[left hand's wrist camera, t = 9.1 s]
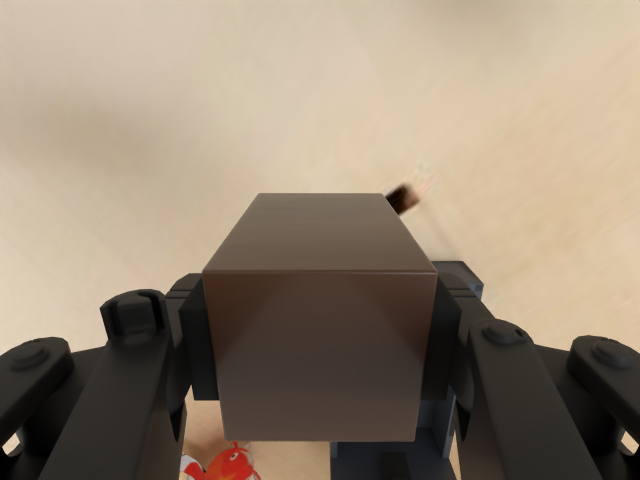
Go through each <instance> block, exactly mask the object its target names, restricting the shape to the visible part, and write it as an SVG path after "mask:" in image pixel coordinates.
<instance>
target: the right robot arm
mask: <svg viewBox="0 0 640 480" xmlns="http://www.w3.org/2000/svg"><path fill="white" fill-rule="evenodd" d="M380 457H381V463H382V469H383V476H384V480H411V476H410V472H409V468H408V463H407V459H406V455H405V452H381V456H380Z"/></svg>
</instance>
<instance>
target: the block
mask: <svg viewBox="0 0 640 480" xmlns="http://www.w3.org/2000/svg"><path fill="white" fill-rule="evenodd" d="M437 277H438V272H437V270H436V268H435V267H434V266H433V264H432V263H431V261H430V260H429V259H428V257H427V256H426V254H425V253H424V252H423V250H422V249H421V247H420V246H419V245H418V243H417V242H416V240H415V239H414V238H413V236H412V235H411V233H410V232H409V231H408V229H407V228H406V226H405V225H404V224H403V222H402V221H401V219H400V218H399V217H398V215H397V214H396V212H395V211H394V210H393V208H392V207H391V205H390V204H389V203H388V201H387V200H386V198H385V197H384V196H383V194H366V193H259V194H258V195H257V196H256V198H255V199H254V200H253V202H252V203H251V205H250V206H249V207H248V209H247V210H246V211H245V213H244V214H243V216H242V217H241V218H240V220H239V221H238V222H237V224H236V225H235V227H234V228H233V229H232V231H231V232H230V233H229V235H228V236H227V238H226V239H225V240H224V242H223V243H222V244H221V246H220V247H219V249H218V250H217V251H216V253H215V254H214V255H213V257H212V258H211V260H210V261H209V262H208V264H207V265H206V266H205V268H204V269H203V270H202V279H203V286H204V293H205V300H206V307H207V314H208V321H209V328H210V335H211V343H212V350H213V357H214V364H215V371H216V378H217V385H218V392H219V399H220V407H221V414H222V421H223V428H224V435H225V440H226V441H361V442H412V441H414V440H415V433H416V426H417V419H418V412H419V404H420V397H421V390H422V383H423V376H424V369H425V362H426V355H427V348H428V341H429V334H430V327H431V320H432V313H433V305H434V298H435V291H436V284H437Z"/></svg>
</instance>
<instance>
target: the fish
mask: <svg viewBox="0 0 640 480" xmlns="http://www.w3.org/2000/svg"><path fill="white" fill-rule="evenodd" d="M231 443H232V446H233V448H231V449H228V450H225V451H223V452H222V453H220V454H219V455H218V456H216V457H215V459H214V460H213V461H212V462H211V464H210V465H209V466H208V468H207V471H205V470H204V469H203V468H202V466H201V465H200V464H199V463H198V462H197V461H196V460H195V459H193V458H191V457H189V456H188V455H186V454H184V455H182V457H181V465H180V471H182V472H184V473H187V474H188V475H189V476H188V479H187V480H249V478H250V476H251V475H252V473H253V476H254V479H255V480H261V478H260V476H259V475H258V473H257V472H256V471H255V470H254V461H253V457H252V455H251V453H250V452H249V451H248V448H249V445H250V442H249V443H248V444H247V445H245V446H244V447H243V448H238V445H237V441H231Z"/></svg>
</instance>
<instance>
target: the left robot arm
mask: <svg viewBox="0 0 640 480" xmlns="http://www.w3.org/2000/svg"><path fill="white" fill-rule="evenodd" d="M100 311H101V315H102V318H103V322H104V326H105V329H106V333H107V336H108V341H107V343H106V345H105V346H103V347H99V348H94V349H89V350H84V351H78V352H73V353H71V351H70V348H69V345H68V342H67V341H66V340H64V339H63V338H58V337H47V338H38V339H34V340H33V341H32V340H30V341H27V342H24V343H22V344H21V345H19V346H17V347H14V348H12V349H10V350H9V351H7V352H6V353H4V354H3V355H1V356H0V480H179V473H180V465H181V457H182V449H183V441H184V433H185V425H186V417H187V410H186V404H185V397H186V395H187V392H188V390H189V388H190V386H191V385H192V390H193V396H194V400H220V399H219V392H218V385H217V378H216V371H215V364H214V357H213V350H212V343H211V335H210V328H209V321H208V314H207V307H206V300H205V293H204V286H203V279H202V273H189V274H188V275H186V276H184V277H183V278H181V279H179V280H178V281H177V282H176V283H175V284H174V285H173V286H172V288H171V289H170V291H168V293H167V294H166V295H165V296H164V294H163V293H161V292H160V291H157V290H153V289H139V290H134V291H129V292H126V293H123V294H120V295H117V296H115V297H113V298H111V299H110V300H108V301H106V302H105V303H104V304H103V305H102V306H101V307H100ZM449 384H450V386H451V388H452V390H453V392H454V394H455V396H456V399H455V404H454V409H453V414H452V419H451V424H450V430H449V436H454V431H455V432H456V440H457V448H458V456H459V464H460V472H461V480H640V353H638V352H636V351H635V350H633V349H632V348H630V347H628V346H626V345H623V344H621V343H619V342H618V341H616V340H612V339H608V338H605V337H598V336H590V335H587V336H579V337H577V338H576V339H575V340H573V343H572V346H571V349H570V351H565V350H560V349H554V348H549V347H544V346H540V345H536V344H534V342H533V340H532V339H531V337H530V336H529V335H528V334H527V332H526V331H524V330H523V329H521V328H520V327H518V326H517V325H514V324H512V323H509V322H507V321H504V320H500V319H495V317H494V316H493V315H492V314H491V313H490V311H489V310H488V309H487V308H486V306H485V305H484V304H483V303H482V302H481V300H480V299H479V298H477V296H476V294H475V293H474V292H473V291H472V290H471V288H470V287H469V286H468V285H467V283H466V282H465V281H464V280H463V279H461V278H460V277H458V276H456V275H455V274H453V273H451V272H438V277H437V284H436V291H435V298H434V305H433V313H432V320H431V327H430V334H429V341H428V348H427V355H426V362H425V369H424V376H423V383H422V390H421V397H420V400H446V397H447V392H448V386H449ZM625 431H627V432H628V434H629V435H630V436H631V437H632V438H633V439H634V440H635V441H636V442H637V443H638V444H639V447H638V449H637V451H636V452H635V453H634V454H633V453H632V452H631V451H630V450H629V449H627V448H626V446H625V445H624V444H623V443H622V442H621V440H622V438H623V435H624V433H625ZM15 432H16V435H17V437H18V439H19V441H20V443H19V444H18V445H17V447H16V448H15V449H14V450H13V451H12V452H10V453H9V454H8V455H7V454H5V452H4V450H3V448H2V446H3V445H4V444H5V443H6V442H7V441H8V440H9V439H10V438H11V437H12V435H13V434H14V433H15Z"/></svg>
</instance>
